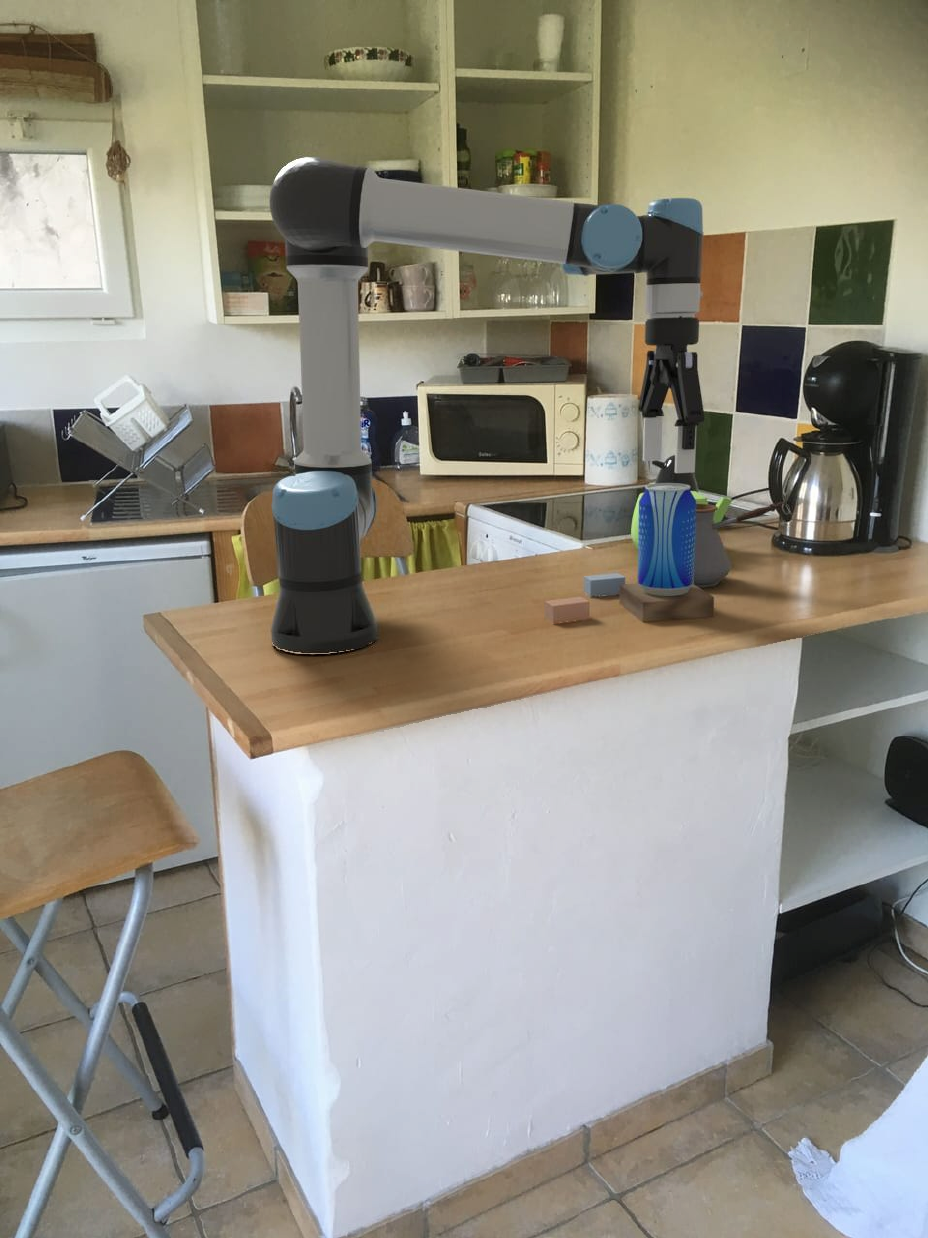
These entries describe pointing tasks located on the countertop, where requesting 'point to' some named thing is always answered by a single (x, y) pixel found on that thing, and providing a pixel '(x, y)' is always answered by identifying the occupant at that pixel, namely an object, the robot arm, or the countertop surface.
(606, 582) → the greyblue brick
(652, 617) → the walnut slab
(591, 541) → the countertop surface
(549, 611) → the terracotta brick
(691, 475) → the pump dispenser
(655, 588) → the beer can
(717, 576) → the coffee pot
